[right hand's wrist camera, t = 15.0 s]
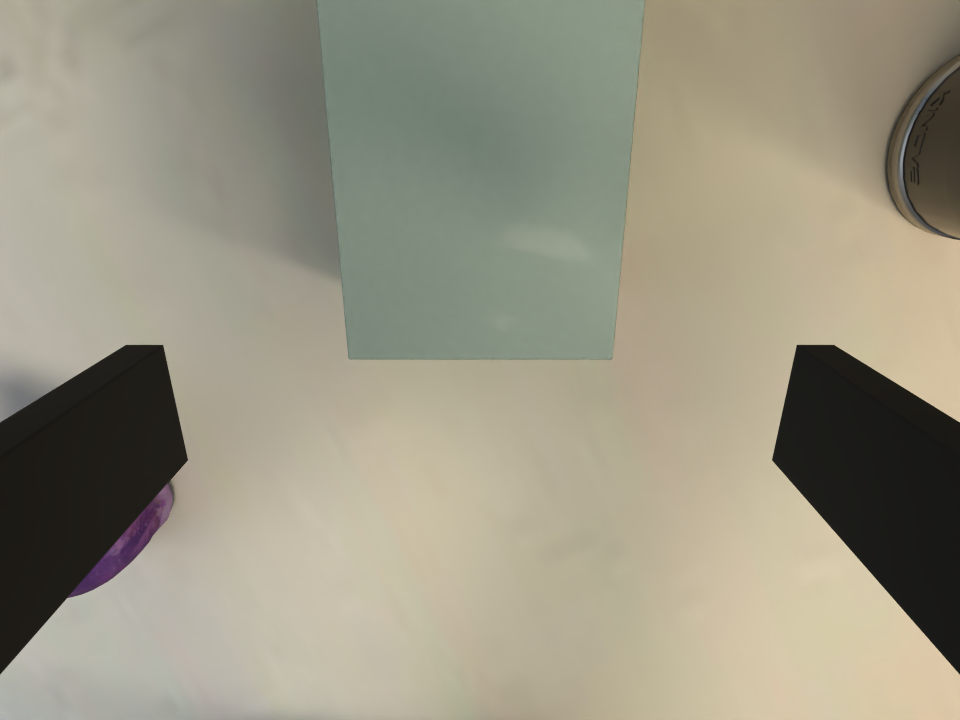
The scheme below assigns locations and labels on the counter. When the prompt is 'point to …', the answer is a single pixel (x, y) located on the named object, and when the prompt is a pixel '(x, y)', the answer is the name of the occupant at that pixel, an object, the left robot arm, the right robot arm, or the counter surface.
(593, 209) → the cabinet
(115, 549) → the figurine
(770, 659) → the counter surface
